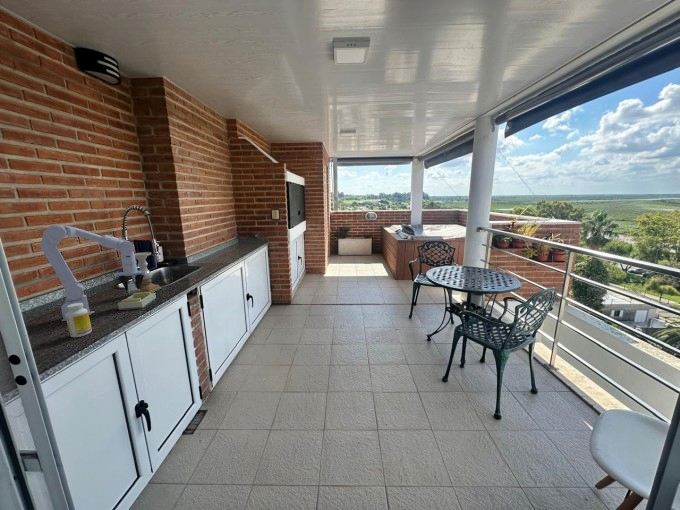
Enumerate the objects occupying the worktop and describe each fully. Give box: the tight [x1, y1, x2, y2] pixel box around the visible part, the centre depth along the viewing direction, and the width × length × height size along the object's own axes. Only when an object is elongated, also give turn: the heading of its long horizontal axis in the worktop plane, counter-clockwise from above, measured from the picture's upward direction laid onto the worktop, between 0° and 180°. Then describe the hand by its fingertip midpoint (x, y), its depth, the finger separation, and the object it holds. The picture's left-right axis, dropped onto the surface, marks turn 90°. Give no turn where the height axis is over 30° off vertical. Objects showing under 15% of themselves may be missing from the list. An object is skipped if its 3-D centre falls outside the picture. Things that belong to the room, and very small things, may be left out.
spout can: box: [127, 277, 140, 295], centre depth 144 cm, size 5×5×8 cm
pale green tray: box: [117, 292, 157, 311], centre depth 145 cm, size 14×11×5 cm
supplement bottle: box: [66, 303, 93, 338], centre depth 111 cm, size 7×7×13 cm
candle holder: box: [131, 251, 162, 296], centre depth 163 cm, size 11×11×24 cm
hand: (133, 289), depth 144 cm, fingers closed on spout can, 5 cm apart
